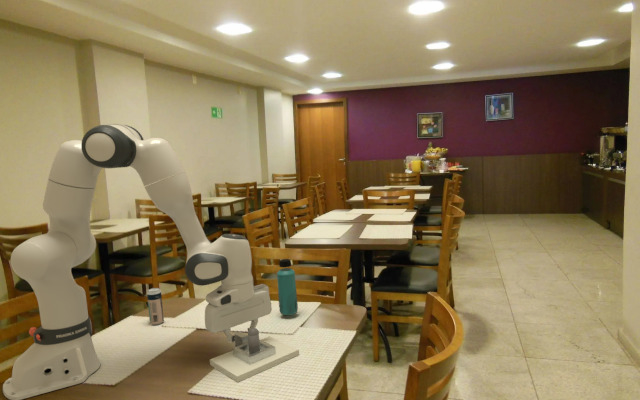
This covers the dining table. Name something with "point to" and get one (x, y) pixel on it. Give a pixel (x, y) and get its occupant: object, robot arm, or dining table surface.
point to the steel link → (243, 348)
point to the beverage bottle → (287, 288)
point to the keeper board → (243, 370)
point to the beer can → (155, 306)
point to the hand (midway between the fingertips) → (241, 337)
